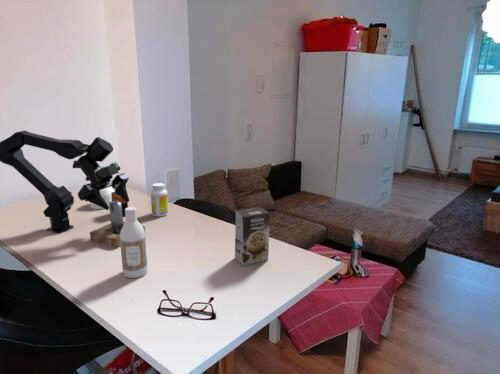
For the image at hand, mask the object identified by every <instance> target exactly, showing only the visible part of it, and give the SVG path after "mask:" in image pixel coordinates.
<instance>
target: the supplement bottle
mask: <svg viewBox="0 0 500 374" xmlns="http://www.w3.org/2000/svg"><path fill="white" fill-rule="evenodd" d="M168 196H169V195H168V191H167V189H165V184H164V183H162V182H155V183H152V190H150V201H151V202H150V203H151V214H152V216H154V217H157V218H159V217H165V216H167V215H168V214H169V198H168Z"/></svg>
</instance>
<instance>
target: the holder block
mask: <svg viewBox="0 0 500 374" xmlns="http://www.w3.org/2000/svg"><path fill="white" fill-rule="evenodd" d="M125 222H126V221H124V220H123V225H124V224H125ZM142 227H143V229H144V231H145V232H146V227H145V225H142ZM89 237H90V241H92V240H93V241H92V242H95V241H97V242H96V243H99V242H100V243H99V244H102V243H104V244H103V245H106V244H107V245H106V246H109V245H111V246H110V247H113V246H114V247H113V248H116V247H117V249H120V248H121V245H120V234H118V235H117V234H113V233H112V228H111V222H110V223H108V224H105V225H104V226H101V227H98V228H96V229H94V230H90V231H89ZM119 247H120V248H119Z"/></svg>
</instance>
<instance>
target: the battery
mask: <svg viewBox="0 0 500 374" xmlns="http://www.w3.org/2000/svg"><path fill="white" fill-rule="evenodd" d="M111 196H112V201H121V204H122V216H123V217H126V215H125V209H126V208H128V207H129V202H126V201H125V200H124V199H123V198H122V197H121V196H119V195H118V194H117V193H116V192H112V193H111Z"/></svg>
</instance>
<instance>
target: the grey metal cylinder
mask: <svg viewBox="0 0 500 374" xmlns="http://www.w3.org/2000/svg"><path fill="white" fill-rule="evenodd" d="M109 207H110V208H109V217H110V223H111V228H112V233H113V234H117V235H118V234H120V232H121V229H122V227H123V221H124V216H122V204H121V201H111V202H109Z"/></svg>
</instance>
